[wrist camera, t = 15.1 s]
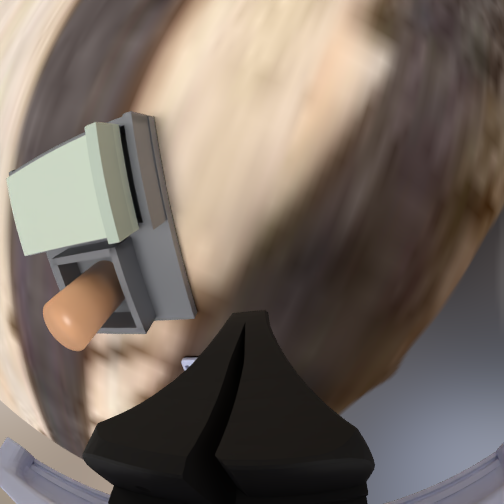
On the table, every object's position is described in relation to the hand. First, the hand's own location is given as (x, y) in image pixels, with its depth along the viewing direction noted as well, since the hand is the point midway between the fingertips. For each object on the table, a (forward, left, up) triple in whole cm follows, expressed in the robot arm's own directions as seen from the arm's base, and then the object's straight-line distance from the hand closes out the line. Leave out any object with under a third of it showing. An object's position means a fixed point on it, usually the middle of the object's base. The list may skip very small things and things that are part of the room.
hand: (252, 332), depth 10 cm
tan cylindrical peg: (-1, +13, -9) cm, 16 cm away
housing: (+3, +13, -10) cm, 17 cm away
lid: (+7, +13, -7) cm, 16 cm away
